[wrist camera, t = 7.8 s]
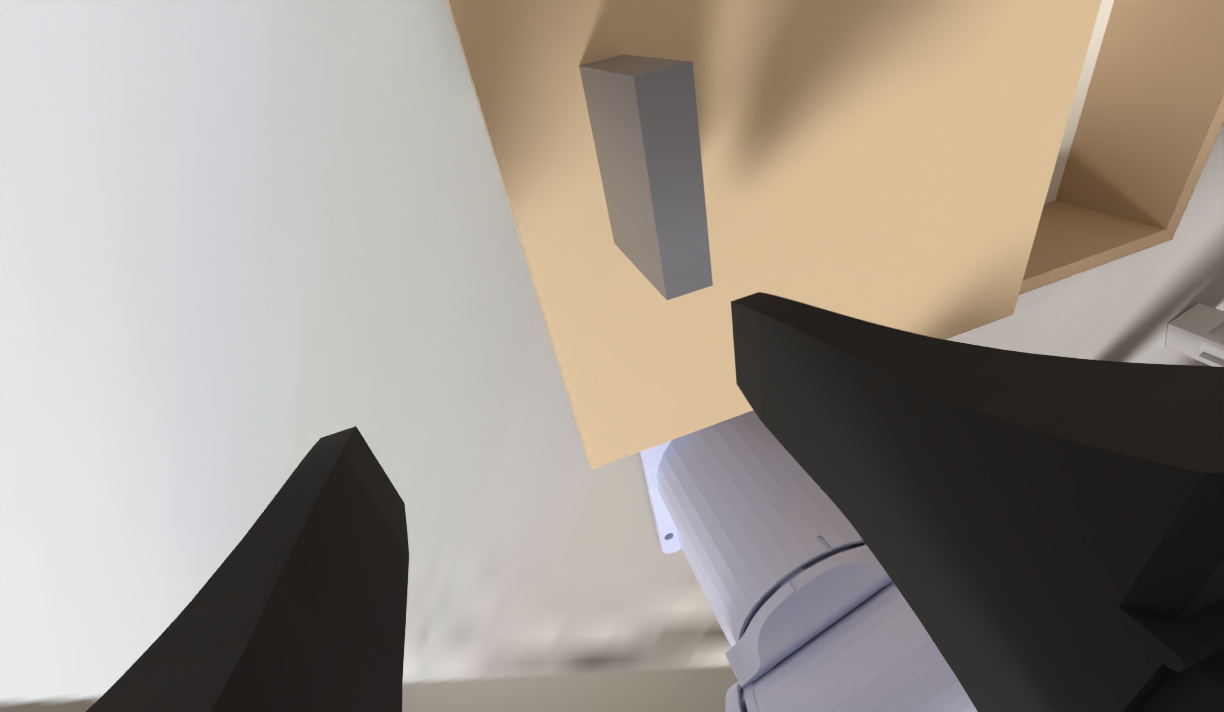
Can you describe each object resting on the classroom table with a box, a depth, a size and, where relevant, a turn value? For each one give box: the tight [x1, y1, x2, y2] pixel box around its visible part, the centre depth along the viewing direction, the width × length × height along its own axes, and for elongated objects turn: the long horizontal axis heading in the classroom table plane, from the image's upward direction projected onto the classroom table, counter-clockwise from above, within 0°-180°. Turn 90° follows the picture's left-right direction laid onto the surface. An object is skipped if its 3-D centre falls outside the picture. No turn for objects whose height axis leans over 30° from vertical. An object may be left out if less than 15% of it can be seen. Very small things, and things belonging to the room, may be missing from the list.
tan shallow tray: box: [1019, 0, 1224, 295], centre depth 17 cm, size 18×16×5 cm
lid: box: [447, 0, 1102, 470], centre depth 12 cm, size 18×16×4 cm
